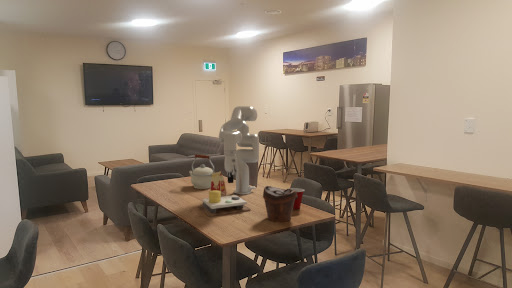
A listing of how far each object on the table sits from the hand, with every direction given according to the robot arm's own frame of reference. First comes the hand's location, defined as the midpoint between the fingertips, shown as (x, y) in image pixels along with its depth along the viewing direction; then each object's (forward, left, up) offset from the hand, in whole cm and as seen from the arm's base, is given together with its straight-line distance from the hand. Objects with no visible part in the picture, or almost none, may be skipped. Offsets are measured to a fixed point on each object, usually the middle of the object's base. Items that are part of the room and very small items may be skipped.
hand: (230, 182), depth 218 cm
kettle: (-1, -65, -17) cm, 67 cm away
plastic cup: (-37, +15, -17) cm, 43 cm away
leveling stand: (+4, -2, -16) cm, 17 cm away
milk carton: (+1, -22, -17) cm, 27 cm away
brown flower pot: (-18, +28, -17) cm, 38 cm away
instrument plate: (+4, -2, -12) cm, 13 cm away
